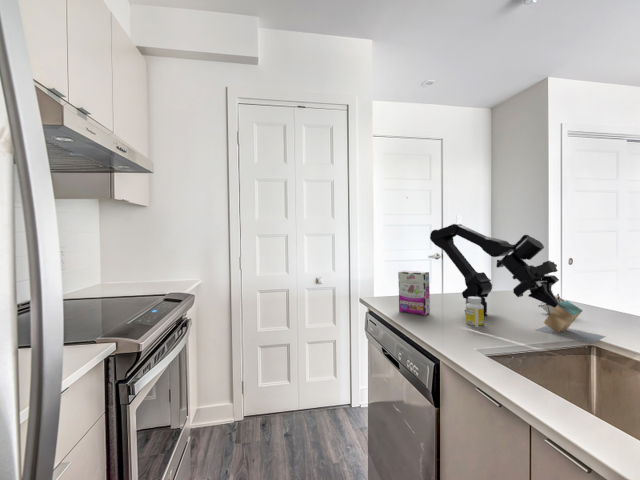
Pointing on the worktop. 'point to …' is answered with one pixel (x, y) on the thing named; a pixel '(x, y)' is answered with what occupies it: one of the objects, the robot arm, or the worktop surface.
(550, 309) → the game die
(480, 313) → the supplement bottle
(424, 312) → the candy bar box
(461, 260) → the robot arm
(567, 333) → the mat
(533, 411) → the worktop surface
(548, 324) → the oak block
